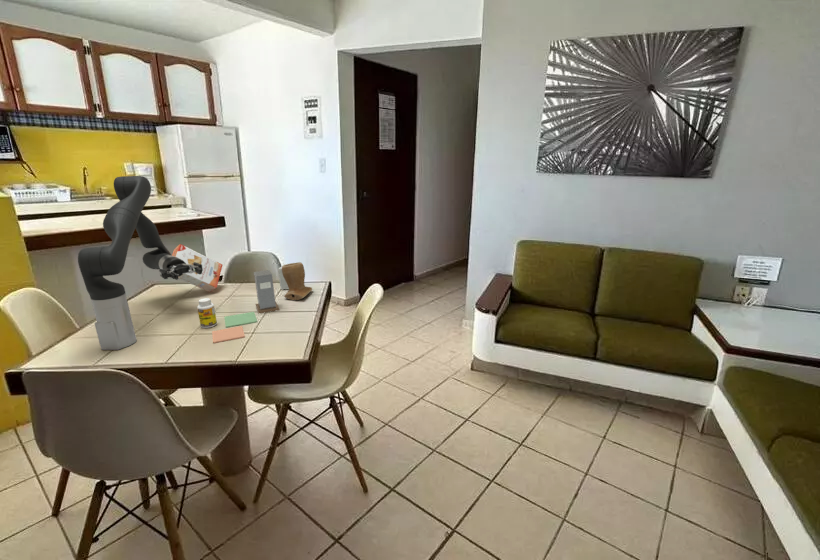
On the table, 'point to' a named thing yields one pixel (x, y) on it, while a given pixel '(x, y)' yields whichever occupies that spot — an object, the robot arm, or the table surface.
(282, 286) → the small box
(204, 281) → the cracker box
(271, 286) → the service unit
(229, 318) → the green pad
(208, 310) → the supplement bottle
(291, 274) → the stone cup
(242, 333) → the terracotta pad
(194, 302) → the table surface
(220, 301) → the table surface
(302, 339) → the table surface
